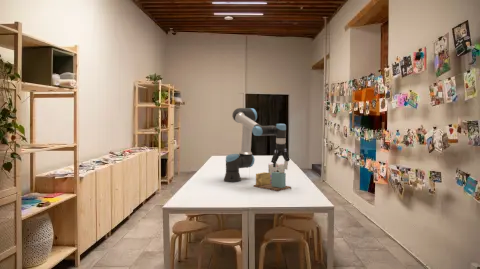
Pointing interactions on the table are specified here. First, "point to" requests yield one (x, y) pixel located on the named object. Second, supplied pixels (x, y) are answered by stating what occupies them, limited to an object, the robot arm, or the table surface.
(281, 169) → the candy box
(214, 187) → the table surface
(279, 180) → the stub
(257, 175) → the board
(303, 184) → the table surface
